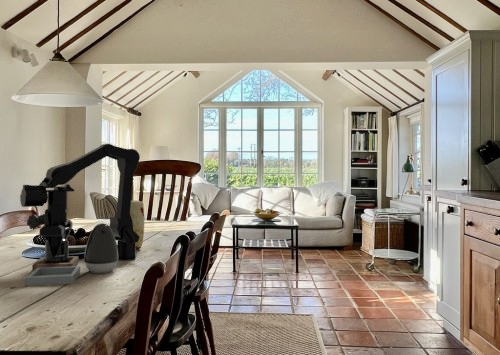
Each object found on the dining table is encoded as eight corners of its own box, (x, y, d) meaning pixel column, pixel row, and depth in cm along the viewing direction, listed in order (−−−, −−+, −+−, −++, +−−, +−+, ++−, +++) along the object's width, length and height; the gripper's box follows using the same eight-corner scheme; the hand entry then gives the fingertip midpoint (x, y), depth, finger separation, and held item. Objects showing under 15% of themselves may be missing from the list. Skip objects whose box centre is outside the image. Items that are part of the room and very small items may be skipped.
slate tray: (80, 273, 126) (80, 266, 126) (73, 283, 115) (73, 275, 115) (37, 274, 124) (37, 267, 124) (25, 285, 112) (25, 277, 112)
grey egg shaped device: (85, 277, 122) (86, 226, 122) (82, 269, 131) (83, 222, 131) (121, 273, 127) (122, 224, 127) (115, 266, 136) (116, 220, 136)
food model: (117, 251, 162) (118, 200, 162) (119, 248, 168) (120, 199, 168) (143, 250, 164) (144, 200, 163) (144, 247, 170) (145, 199, 170)
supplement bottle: (58, 271, 129) (59, 232, 128) (39, 269, 130) (40, 231, 130) (72, 266, 135) (73, 230, 135) (54, 264, 137) (54, 229, 137)
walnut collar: (78, 263, 140) (78, 256, 140) (72, 271, 128) (72, 263, 128) (41, 264, 137) (42, 257, 137) (32, 272, 126) (32, 264, 126)
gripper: (37, 203, 140) (37, 249, 140) (21, 208, 121) (20, 260, 122) (73, 203, 142) (72, 248, 142) (61, 208, 124) (60, 259, 124)
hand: (56, 253), depth 133 cm, fingers closed on supplement bottle, 7 cm apart
